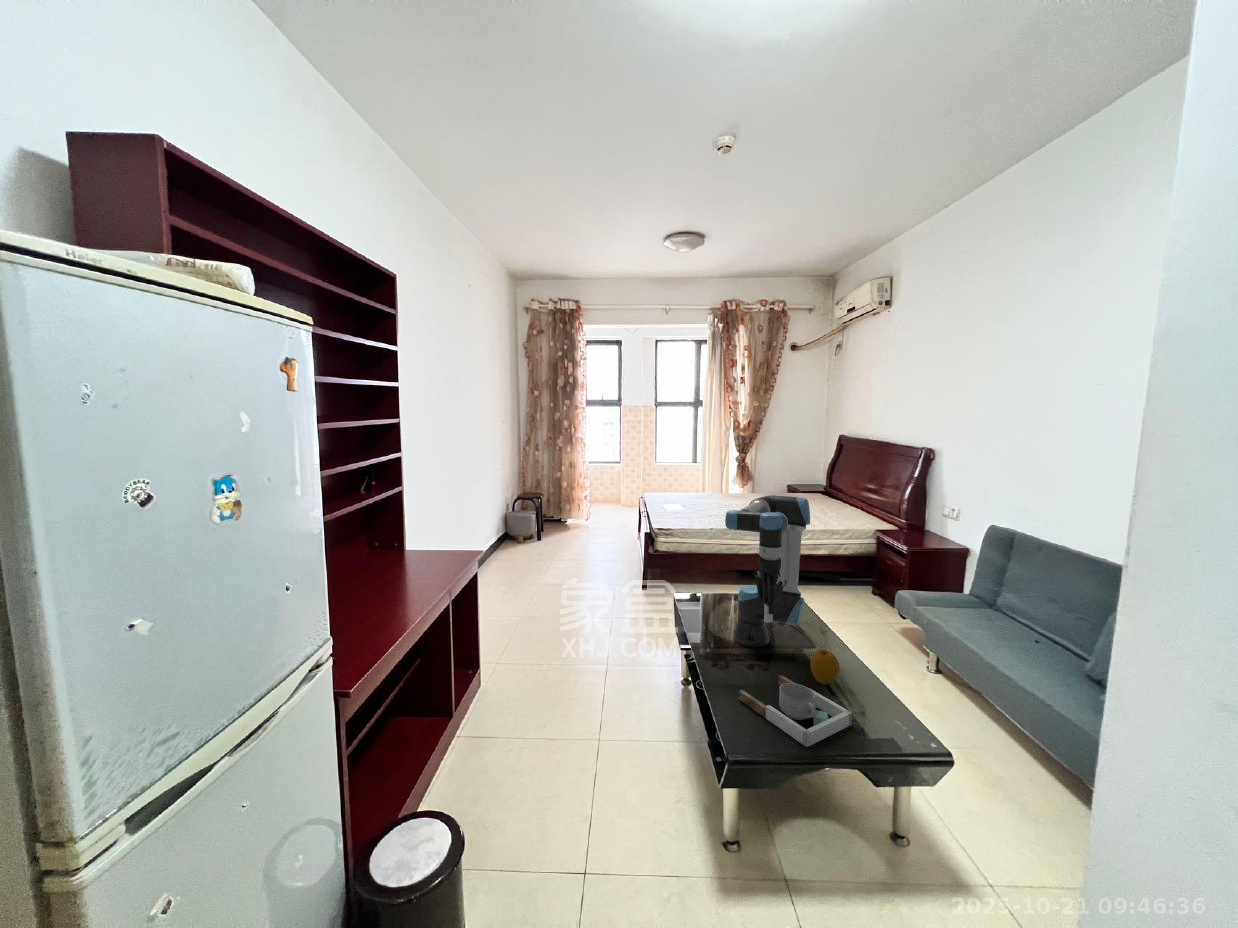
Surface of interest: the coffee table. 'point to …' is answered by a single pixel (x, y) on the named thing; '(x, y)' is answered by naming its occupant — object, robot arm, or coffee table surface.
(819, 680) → the apple
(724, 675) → the coffee table surface
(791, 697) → the teacup
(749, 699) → the slot rails
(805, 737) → the grey u-shaped frame
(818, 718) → the block
